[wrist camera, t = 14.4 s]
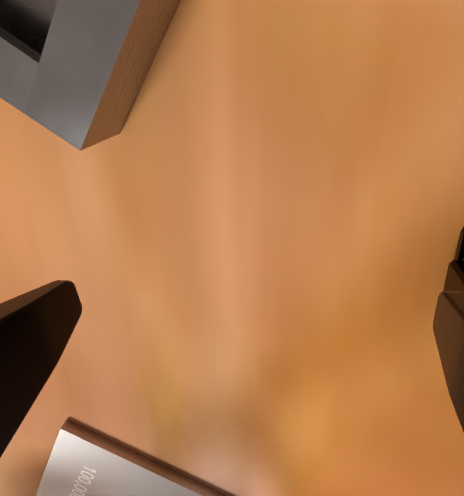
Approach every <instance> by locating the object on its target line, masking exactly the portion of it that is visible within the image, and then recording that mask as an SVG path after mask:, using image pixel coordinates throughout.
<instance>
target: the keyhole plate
mask: <svg viewBox="0 0 464 496" xmlns="http://www.w3.org/2000/svg"><path fill="white" fill-rule="evenodd" d="M179 2H180V0H0V98H2V99H3V100H5V101H6V102H8V103H9V104H11V105H12V106H14V107H15V108H17V109H18V110H20V111H21V112H23V113H24V114H26V115H27V116H29V117H30V118H32V119H33V120H35V121H36V122H38V123H39V124H41V125H42V126H44V127H45V128H47V129H48V130H50V131H51V132H53V133H55V134H56V135H58V136H59V137H61V138H62V139H64V140H65V141H67V142H68V143H70V144H71V145H73V146H74V147H76V148H77V149H79V150H83V149H85V148H87V147H90V146H92V145H94V144H97V143H99V142H101V141H104V140H106V139H108V138H110V137H113V136H115V135H117V134H120V132H121V130H122V127H123V125H124V123H125V121H126V119H127V116H128V114H129V112H130V110H131V107H132V105H133V103H134V101H135V99H136V96H137V94H138V92H139V90H140V88H141V85H142V83H143V81H144V79H145V77H146V74H147V72H148V70H149V68H150V66H151V63H152V61H153V59H154V57H155V55H156V52H157V50H158V48H159V46H160V44H161V41H162V39H163V37H164V35H165V32H166V30H167V28H168V26H169V24H170V21H171V19H172V17H173V15H174V13H175V10H176V8H177V6H178V4H179Z"/></svg>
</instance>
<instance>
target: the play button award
mask: <svg viewBox="0 0 464 496" xmlns="http://www.w3.org/2000/svg"><path fill="white" fill-rule="evenodd" d="M35 496H225V495H223V494H221V493H219V492H217V491H215V490H213V489H211V488H208V487H206V486H204V485H202V484H200V483H198V482H196V481H194V480H192V479H190V478H187V477H185V476H183V475H181V474H179V473H177V472H175V471H173V470H171V469H168V468H166V467H164V466H162V465H160V464H158V463H156V462H154V461H152V460H149V459H147V458H145V457H143V456H141V455H139V454H137V453H135V452H133V451H131V450H128V449H126V448H124V447H122V446H120V445H118V444H116V443H114V442H112V441H109V440H107V439H105V438H103V437H101V436H99V435H97V434H95V433H93V432H91V431H88V430H86V429H84V428H82V427H80V426H78V425H76V424H74V423H72V422H69V421H67V420H66V421H65V423H64V424H63V426H62V427H61V429H60V432H59V434H58V437H57V440H56V442H55V445H54V447H53V450H52V453H51V455H50V458H49V461H48V463H47V466H46V469H45V471H44V474H43V477H42V479H41V482H40V484H39V487H38V490H37V492H36V495H35Z"/></svg>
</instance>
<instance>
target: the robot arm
mask: <svg viewBox="0 0 464 496" xmlns="http://www.w3.org/2000/svg"><path fill="white" fill-rule="evenodd" d="M81 313H82V305H81V302H80V299H79V296H78V293H77V290H76V287H75V285H74V283H73V282H71V281H65V280H57V281H54V282H51V283H49V284H46V285H44V286H41V287H39V288H37V289H34V290H32V291H29V292H27V293H25V294H22V295H20V296H17V297H15V298H12V299H10V300H8V301H5V302H3V303H0V457H1V456H2V454H3V452H4V451H5V449H6V448H7V446H8V444H9V443H10V441H11V439H12V438H13V436H14V434H15V433H16V431H17V429H18V428H19V426H20V424H21V423H22V421H23V420H24V418H25V416H26V415H27V413H28V411H29V410H30V408H31V406H32V405H33V403H34V401H35V400H36V398H37V396H38V395H39V393H40V391H41V390H42V388H43V387H44V385H45V383H46V382H47V380H48V378H49V377H50V375H51V373H52V372H53V370H54V368H55V367H56V365H57V363H58V361H59V359H60V357H61V355H62V353H63V351H64V349H65V347H66V345H67V343H68V341H69V339H70V337H71V334H72V332H73V330H74V328H75V326H76V324H77V322H78V320H79V318H80V316H81ZM433 330H434V335H435V339H436V343H437V347H438V351H439V355H440V359H441V363H442V367H443V371H444V375H445V379H446V384H447V387H448V391H449V394H450V397H451V400H452V403H453V406H454V408H455V411H456V414H457V416H458V419H459V421H460V424H461V427H462V429H463V432H464V228H463V229H462V230H461V233H460V237H459V241H458V246H457V251H456V255H455V260H453V261H452V262H451V263H449V266H448V271H447V276H446V281H445V285H444V290H443V292H441V293H440V294H439V296H438V301H437V306H436V311H435V315H434V320H433Z"/></svg>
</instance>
